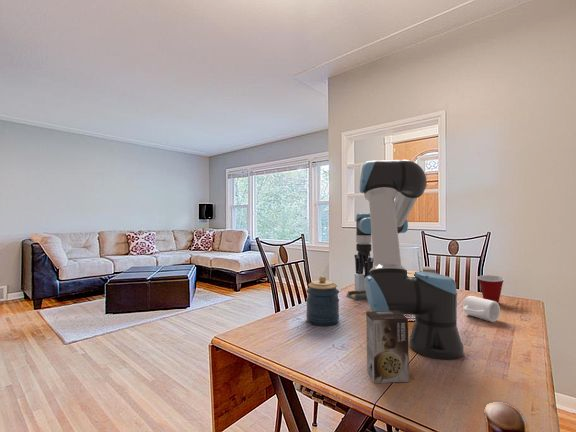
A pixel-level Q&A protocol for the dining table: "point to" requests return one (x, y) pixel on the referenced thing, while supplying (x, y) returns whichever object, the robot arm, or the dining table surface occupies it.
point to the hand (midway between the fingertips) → (364, 288)
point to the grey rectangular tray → (357, 295)
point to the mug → (481, 308)
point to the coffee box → (387, 346)
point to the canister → (322, 302)
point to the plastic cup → (491, 287)
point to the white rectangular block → (359, 282)
